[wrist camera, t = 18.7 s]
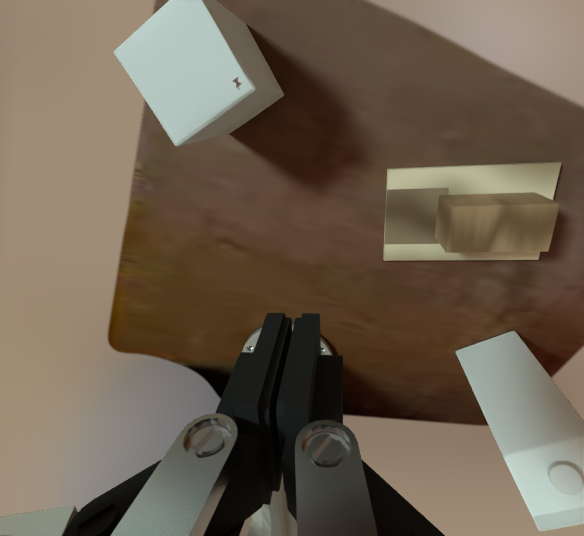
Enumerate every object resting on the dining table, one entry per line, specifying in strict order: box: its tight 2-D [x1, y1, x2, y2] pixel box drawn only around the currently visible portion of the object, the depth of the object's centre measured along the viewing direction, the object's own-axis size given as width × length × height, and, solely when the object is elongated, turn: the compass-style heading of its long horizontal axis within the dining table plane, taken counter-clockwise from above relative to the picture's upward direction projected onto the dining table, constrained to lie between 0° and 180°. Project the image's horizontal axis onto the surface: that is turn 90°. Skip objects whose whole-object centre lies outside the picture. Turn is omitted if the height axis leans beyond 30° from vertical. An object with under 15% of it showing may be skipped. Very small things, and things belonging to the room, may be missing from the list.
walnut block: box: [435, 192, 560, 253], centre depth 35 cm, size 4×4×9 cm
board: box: [383, 162, 561, 261], centre depth 37 cm, size 10×16×1 cm, turn 94°
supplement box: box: [114, 0, 284, 146], centre depth 29 cm, size 7×7×13 cm
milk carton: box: [456, 331, 584, 531], centre depth 36 cm, size 7×7×19 cm
